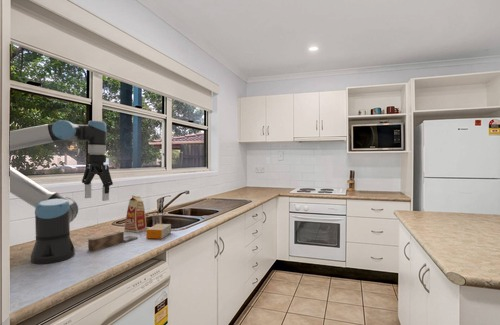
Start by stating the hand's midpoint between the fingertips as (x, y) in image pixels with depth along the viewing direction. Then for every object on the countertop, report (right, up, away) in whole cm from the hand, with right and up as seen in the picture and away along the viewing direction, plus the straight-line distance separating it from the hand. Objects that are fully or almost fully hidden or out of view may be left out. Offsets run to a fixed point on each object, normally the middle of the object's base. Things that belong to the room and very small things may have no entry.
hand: (96, 199), depth 137 cm
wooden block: (+7, -22, +2) cm, 23 cm away
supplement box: (+24, -19, +9) cm, 32 cm away
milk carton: (+7, -21, +29) cm, 36 cm away
